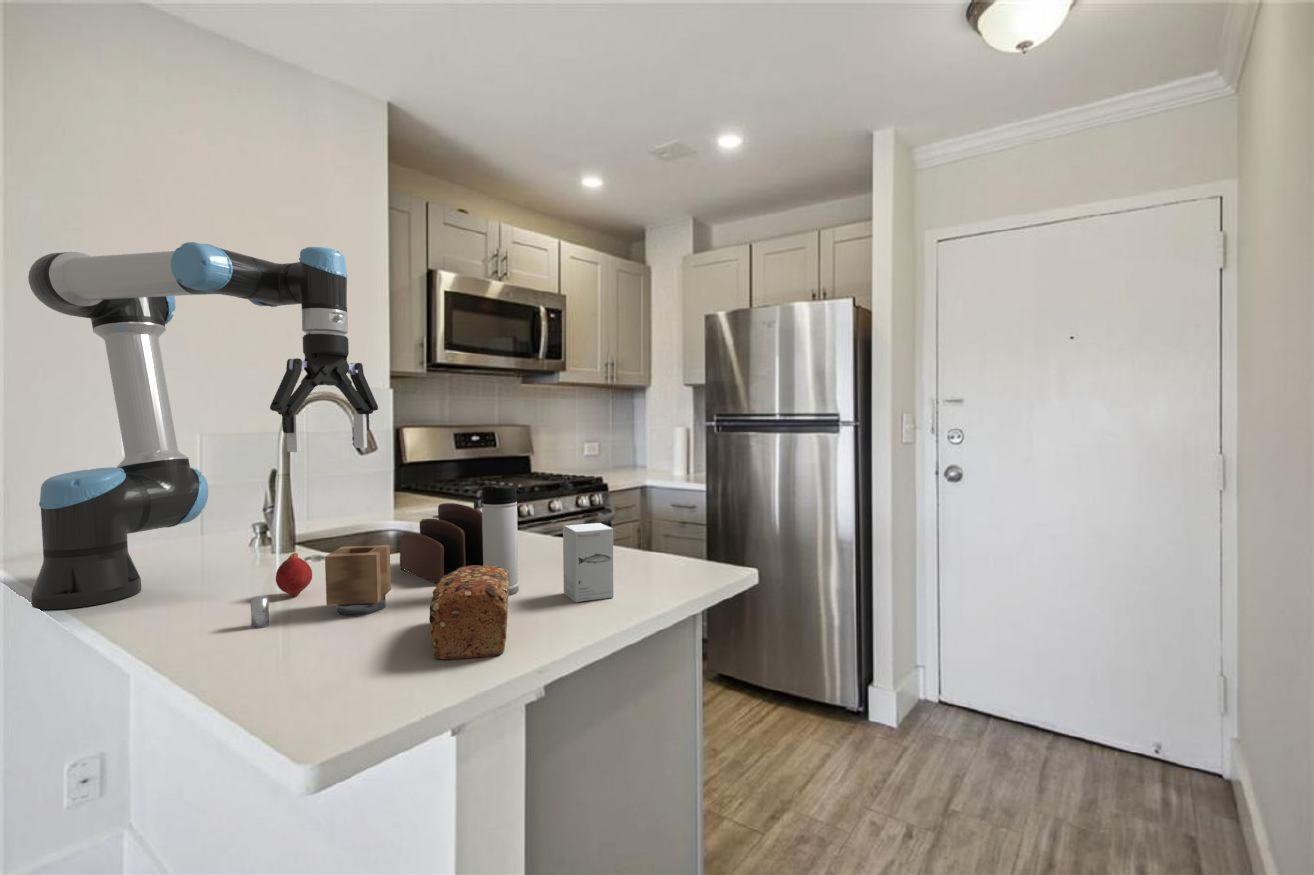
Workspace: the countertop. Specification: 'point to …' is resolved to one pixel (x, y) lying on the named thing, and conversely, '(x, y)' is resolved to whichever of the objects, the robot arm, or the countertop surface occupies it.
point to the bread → (470, 613)
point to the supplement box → (588, 561)
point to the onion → (293, 575)
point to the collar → (357, 574)
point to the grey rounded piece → (259, 612)
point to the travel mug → (501, 531)
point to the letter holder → (444, 543)
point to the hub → (361, 608)
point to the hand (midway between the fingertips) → (329, 449)
